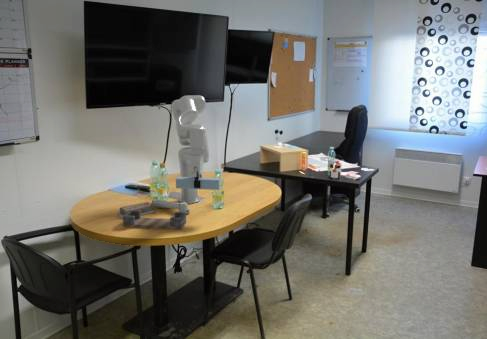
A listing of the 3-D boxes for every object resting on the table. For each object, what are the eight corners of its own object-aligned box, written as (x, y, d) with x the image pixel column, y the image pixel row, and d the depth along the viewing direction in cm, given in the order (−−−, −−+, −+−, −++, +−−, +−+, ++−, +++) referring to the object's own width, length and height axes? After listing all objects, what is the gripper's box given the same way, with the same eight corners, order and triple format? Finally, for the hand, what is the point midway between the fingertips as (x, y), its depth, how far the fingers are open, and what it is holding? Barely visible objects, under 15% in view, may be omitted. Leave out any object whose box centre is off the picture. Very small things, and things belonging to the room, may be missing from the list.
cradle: (123, 227, 208) (122, 216, 207) (130, 219, 218) (130, 209, 217) (181, 229, 205) (181, 218, 204) (186, 222, 215) (185, 212, 214)
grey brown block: (147, 200, 236) (155, 204, 228) (147, 208, 237) (155, 213, 230) (115, 206, 225) (122, 211, 218) (116, 214, 226) (123, 220, 219)
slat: (176, 188, 216) (175, 178, 215) (178, 186, 220) (177, 176, 219) (218, 189, 214) (218, 180, 213) (220, 187, 218) (220, 178, 217)
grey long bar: (156, 198, 241) (190, 200, 227) (158, 210, 242) (192, 212, 228) (149, 201, 236) (184, 202, 223) (151, 212, 237) (186, 215, 224)
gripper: (193, 148, 221) (194, 181, 225) (186, 154, 205) (187, 191, 209) (207, 148, 220) (208, 182, 225) (201, 155, 204) (202, 191, 209)
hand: (198, 186), depth 217 cm, fingers closed on slat, 4 cm apart
